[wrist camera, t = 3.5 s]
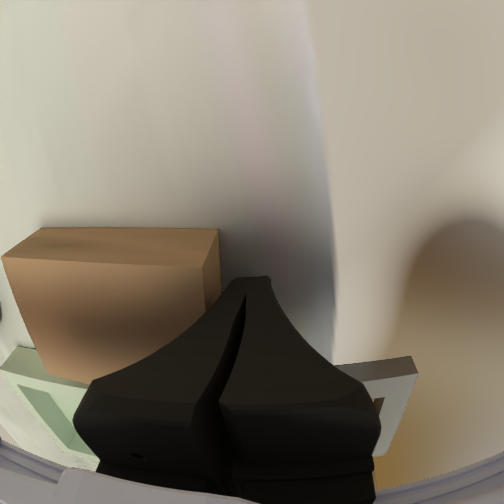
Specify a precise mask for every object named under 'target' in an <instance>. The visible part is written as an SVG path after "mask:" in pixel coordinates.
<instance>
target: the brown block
mask: <svg viewBox="0 0 504 504" xmlns="http://www.w3.org/2000/svg"><path fill="white" fill-rule="evenodd" d="M1 259H2V262H3V266H4V269H5V272H6V275H7V278H8V281H9V284H10V287H11V290H12V292H13V295H14V298H15V300H16V303H17V306H18V308H19V311H20V313H21V316H22V318H23V321H24V323H25V325H26V328H27V330H28V332H29V335H30V337H31V339H32V341H33V343H34V346H35V348H36V350H37V352H38V354H39V356H40V358H41V360H42V362H43V364H44V366H45V368H46V370H47V372H48V374H51V375H55V376H58V377H62V378H66V379H70V380H73V381H77V382H81V383H85V384H90V383H91V382H92V380H94V379H97V378H100V377H103V376H105V375H108V374H110V373H113V372H116V371H118V370H121V369H123V368H125V367H128V366H130V365H132V364H134V363H136V362H138V361H140V360H142V359H144V358H145V357H147V356H149V355H151V354H153V353H154V352H156V351H157V350H159V349H160V348H162V347H163V346H165V345H167V344H168V343H170V342H171V341H173V340H174V339H175V338H177V337H178V336H179V335H181V334H182V333H183V332H184V331H186V330H187V329H188V328H189V327H190V326H192V325H193V324H194V323H195V322H196V321H197V320H198V319H199V318H200V317H201V316H202V315H203V314H204V313H205V312H206V311H207V310H208V309H209V308H210V307H211V306H212V304H213V303H214V302H215V301H216V300H217V299H218V298H219V297H220V295H221V274H220V253H219V229H204V228H115V227H77V228H41V229H39V230H38V231H36V232H35V233H33V234H32V235H30V236H29V237H27V238H26V239H25V240H23V241H22V242H20V243H19V244H17V245H16V246H15V247H13V248H12V249H11V250H9V251H8V252H6V253H5V254H4V255H2V256H1Z"/></svg>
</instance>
